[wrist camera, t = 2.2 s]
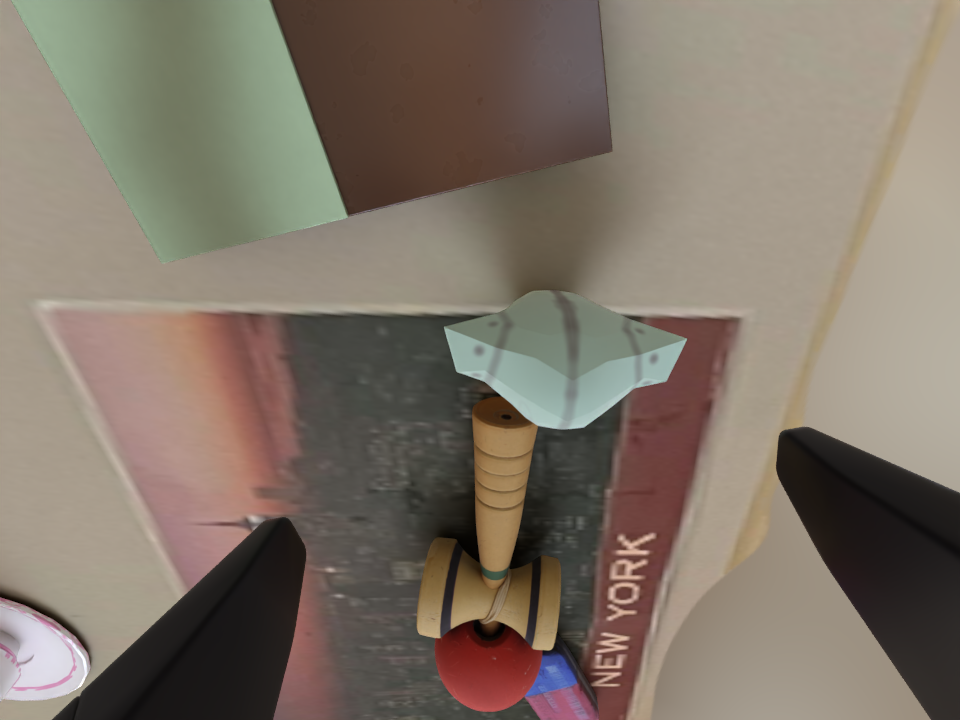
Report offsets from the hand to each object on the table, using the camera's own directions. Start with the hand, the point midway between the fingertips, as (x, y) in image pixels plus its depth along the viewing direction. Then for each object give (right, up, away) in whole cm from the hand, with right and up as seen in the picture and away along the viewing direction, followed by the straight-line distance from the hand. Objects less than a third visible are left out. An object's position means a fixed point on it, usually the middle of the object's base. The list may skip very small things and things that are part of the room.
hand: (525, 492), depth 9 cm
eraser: (+4, -19, +25) cm, 32 cm away
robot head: (+2, +5, +12) cm, 13 cm away
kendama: (0, -7, +18) cm, 19 cm away
